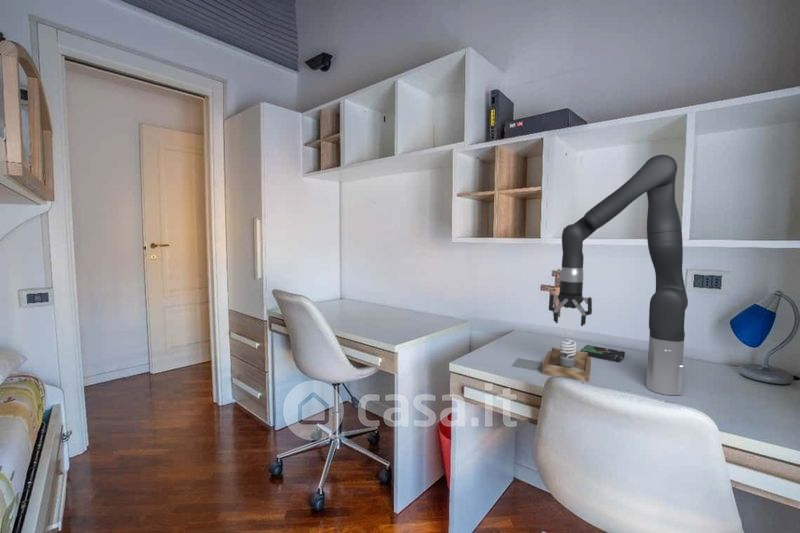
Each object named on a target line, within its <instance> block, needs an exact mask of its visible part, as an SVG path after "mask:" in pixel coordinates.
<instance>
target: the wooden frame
mask: <svg viewBox="0 0 800 533" xmlns="http://www.w3.org/2000/svg"><path fill="white" fill-rule="evenodd" d="M560 350H561V349H560V347H559V348H558V347H551V350H548V352H547V353H546V355H545V357H544V359H543V361H542V371H541V372H542V375H545V376H546V375H547V376H552V377H557V376H561V377H560V378H563V377H566V378H565V379H569V378H570V379H569V380H576V381H581V382H587V383H589V381H590V375H591V370H592V369H591V368H592V367H591V366H592V357H588V352H581V350H576V354H575V355H574V356H573V357H575V360H576V361H575V366H574V367H571V368H568V367H564V366H562V365H561V364H560V356H561V355H567V354H565V353H561V352H560ZM567 352H569V351H567ZM570 354H573V353H570ZM570 354H569V355H570Z"/></svg>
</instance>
